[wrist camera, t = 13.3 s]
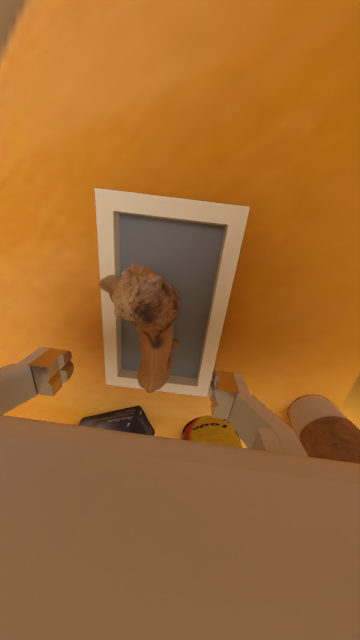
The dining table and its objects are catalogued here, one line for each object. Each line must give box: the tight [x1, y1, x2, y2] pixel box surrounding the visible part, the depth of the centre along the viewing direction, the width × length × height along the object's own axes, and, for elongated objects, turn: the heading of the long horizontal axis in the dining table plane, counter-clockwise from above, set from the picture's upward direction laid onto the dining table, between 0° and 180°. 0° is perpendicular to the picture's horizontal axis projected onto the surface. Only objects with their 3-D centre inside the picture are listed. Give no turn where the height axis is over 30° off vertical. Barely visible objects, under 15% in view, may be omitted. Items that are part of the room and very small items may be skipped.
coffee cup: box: [288, 395, 360, 464], centre depth 20 cm, size 8×8×15 cm
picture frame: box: [95, 188, 250, 397], centre depth 20 cm, size 13×21×2 cm, turn 174°
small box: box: [78, 406, 155, 436], centre depth 25 cm, size 11×6×10 cm, turn 109°
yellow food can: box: [182, 416, 242, 448], centre depth 24 cm, size 9×9×12 cm
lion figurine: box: [99, 264, 180, 393], centre depth 17 cm, size 15×5×9 cm, turn 6°
